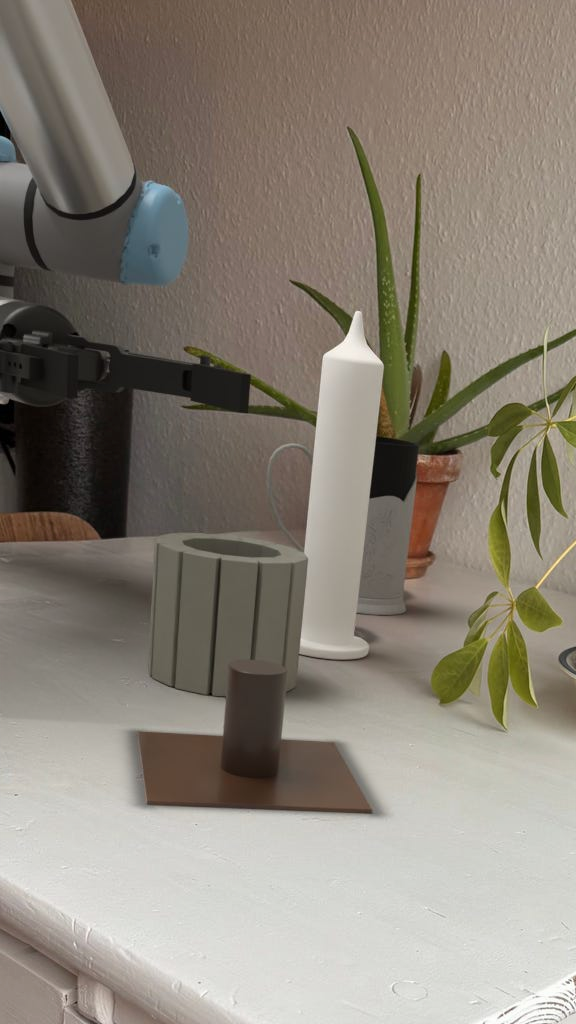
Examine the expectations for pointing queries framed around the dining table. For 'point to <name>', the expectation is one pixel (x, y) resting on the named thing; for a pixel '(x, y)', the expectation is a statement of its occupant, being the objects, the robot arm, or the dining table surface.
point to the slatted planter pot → (223, 608)
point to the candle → (340, 496)
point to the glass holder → (379, 524)
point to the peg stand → (249, 756)
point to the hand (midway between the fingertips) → (163, 385)
